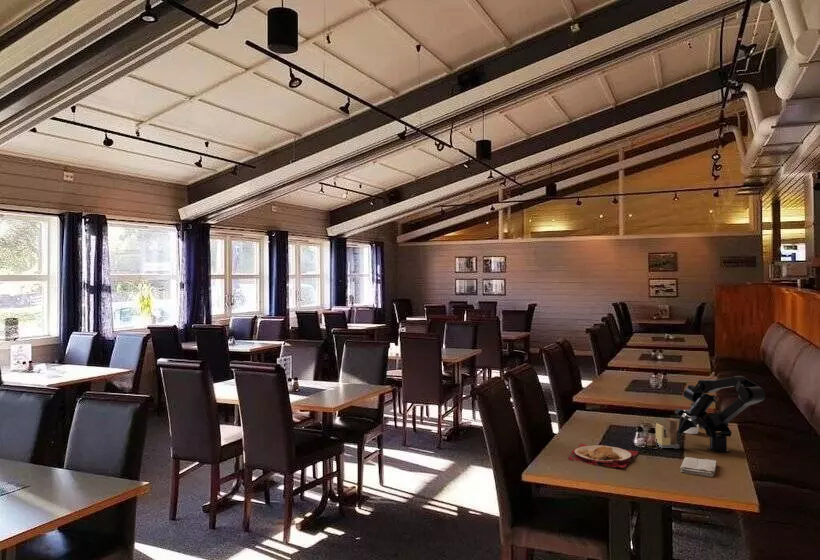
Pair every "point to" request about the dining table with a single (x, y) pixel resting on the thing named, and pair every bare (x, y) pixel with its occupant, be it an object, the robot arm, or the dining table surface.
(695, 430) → the white cup
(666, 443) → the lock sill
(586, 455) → the plate with food
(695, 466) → the washcloth
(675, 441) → the block
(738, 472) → the dining table surface
